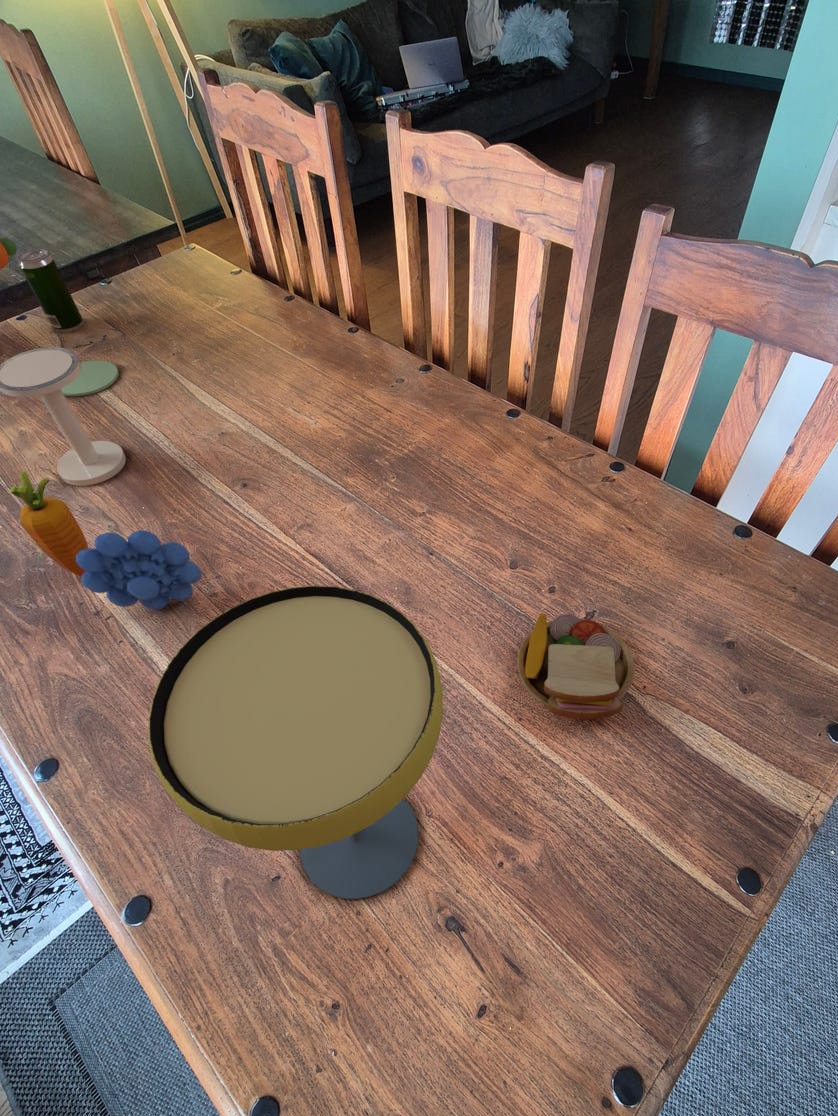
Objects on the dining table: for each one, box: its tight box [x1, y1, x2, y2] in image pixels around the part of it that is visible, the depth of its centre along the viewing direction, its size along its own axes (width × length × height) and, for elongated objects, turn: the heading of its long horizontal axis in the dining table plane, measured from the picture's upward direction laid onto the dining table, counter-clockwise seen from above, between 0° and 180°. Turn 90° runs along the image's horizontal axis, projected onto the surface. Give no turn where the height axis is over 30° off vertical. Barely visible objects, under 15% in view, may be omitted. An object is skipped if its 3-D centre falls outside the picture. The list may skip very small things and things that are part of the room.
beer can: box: [16, 248, 84, 334], centre depth 115 cm, size 5×5×12 cm
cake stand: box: [0, 346, 127, 487], centre depth 89 cm, size 10×10×15 cm
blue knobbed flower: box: [76, 529, 202, 611], centre depth 73 cm, size 12×7×12 cm, turn 112°
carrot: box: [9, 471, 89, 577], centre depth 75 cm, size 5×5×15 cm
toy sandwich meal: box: [516, 613, 635, 720], centre depth 70 cm, size 12×14×5 cm
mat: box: [61, 359, 120, 397], centre depth 108 cm, size 10×10×1 cm
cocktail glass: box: [147, 585, 444, 900], centre depth 51 cm, size 18×18×25 cm
